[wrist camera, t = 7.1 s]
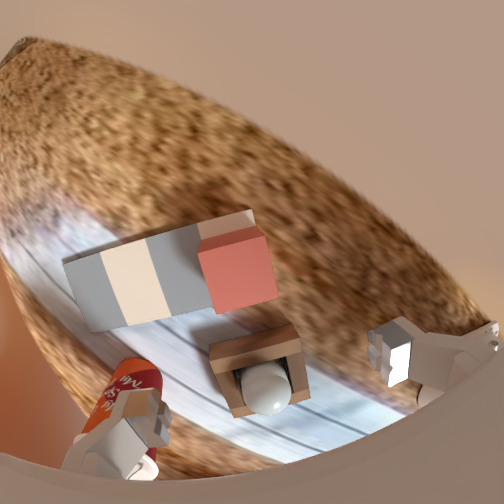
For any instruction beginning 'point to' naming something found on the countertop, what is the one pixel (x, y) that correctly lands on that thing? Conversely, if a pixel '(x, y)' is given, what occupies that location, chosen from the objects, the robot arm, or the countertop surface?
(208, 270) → the red block
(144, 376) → the paper cup
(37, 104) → the countertop surface
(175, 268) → the track
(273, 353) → the button box
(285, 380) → the dome
